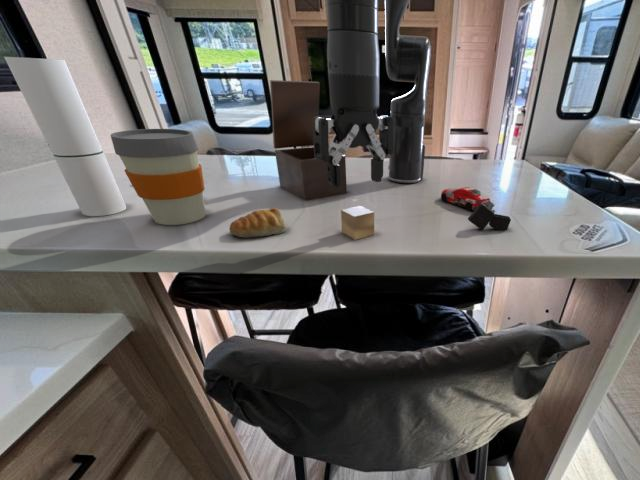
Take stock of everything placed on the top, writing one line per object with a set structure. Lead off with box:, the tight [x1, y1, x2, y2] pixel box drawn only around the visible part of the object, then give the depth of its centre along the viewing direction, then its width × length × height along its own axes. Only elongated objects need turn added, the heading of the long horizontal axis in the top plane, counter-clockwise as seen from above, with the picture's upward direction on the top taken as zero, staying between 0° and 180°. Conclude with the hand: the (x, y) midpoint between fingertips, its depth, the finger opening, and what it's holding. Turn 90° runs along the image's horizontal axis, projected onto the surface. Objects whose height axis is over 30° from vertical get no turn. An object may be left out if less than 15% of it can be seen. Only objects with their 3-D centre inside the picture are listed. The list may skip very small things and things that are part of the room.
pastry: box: [229, 207, 287, 239], centre depth 61 cm, size 9×7×4 cm
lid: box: [269, 79, 321, 150], centre depth 81 cm, size 14×12×5 cm
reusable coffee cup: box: [110, 128, 207, 226], centre depth 62 cm, size 13×13×15 cm
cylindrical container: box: [3, 56, 127, 217], centre depth 61 cm, size 7×7×25 cm
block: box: [340, 205, 375, 241], centre depth 62 cm, size 4×4×4 cm
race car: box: [440, 186, 491, 212], centre depth 80 cm, size 13×5×4 cm, turn 39°
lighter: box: [467, 201, 512, 231], centre depth 68 cm, size 8×2×5 cm
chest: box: [274, 146, 348, 201], centre depth 83 cm, size 14×12×9 cm
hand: (356, 184), depth 58 cm, fingers open, 8 cm apart
